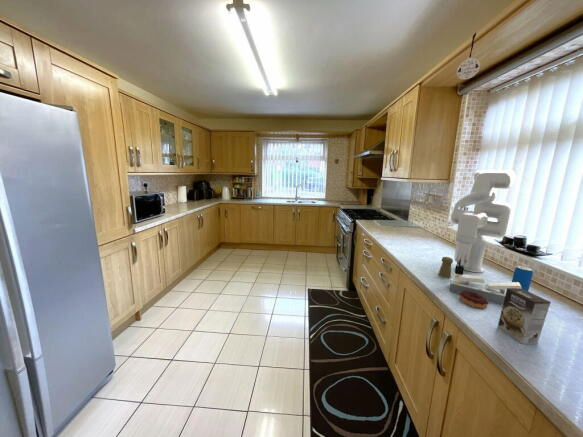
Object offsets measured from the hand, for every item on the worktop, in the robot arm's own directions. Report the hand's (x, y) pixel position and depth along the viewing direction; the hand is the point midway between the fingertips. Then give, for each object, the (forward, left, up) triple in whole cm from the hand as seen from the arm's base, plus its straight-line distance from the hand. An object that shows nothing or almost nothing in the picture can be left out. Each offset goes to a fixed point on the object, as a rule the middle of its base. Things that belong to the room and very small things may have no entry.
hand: (458, 273), depth 113 cm
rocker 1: (0, +4, -1) cm, 4 cm away
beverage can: (-19, +27, -8) cm, 34 cm away
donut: (+12, +6, -8) cm, 16 cm away
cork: (-15, -5, -8) cm, 18 cm away
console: (+1, +11, -8) cm, 14 cm away
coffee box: (+29, +16, -8) cm, 35 cm away
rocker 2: (0, +17, -1) cm, 17 cm away
